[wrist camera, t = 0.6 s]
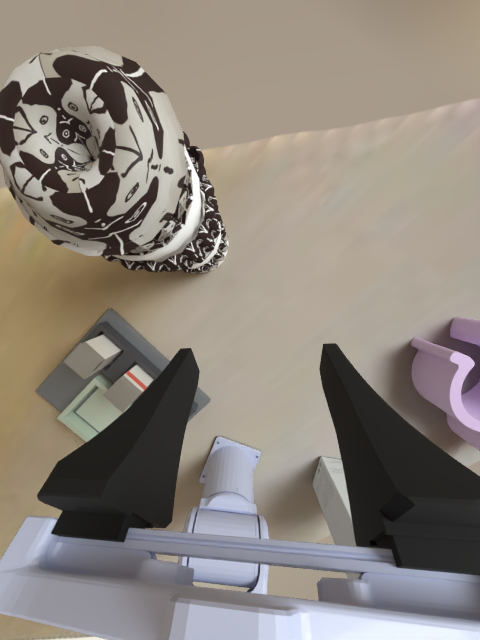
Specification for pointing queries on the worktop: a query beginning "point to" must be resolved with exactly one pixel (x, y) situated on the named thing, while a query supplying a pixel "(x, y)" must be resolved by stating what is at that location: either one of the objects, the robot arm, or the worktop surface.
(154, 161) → the striped tower model
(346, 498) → the skincare box
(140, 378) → the block
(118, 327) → the panel
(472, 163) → the worktop surface
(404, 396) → the worktop surface
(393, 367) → the worktop surface
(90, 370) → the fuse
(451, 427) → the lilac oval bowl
